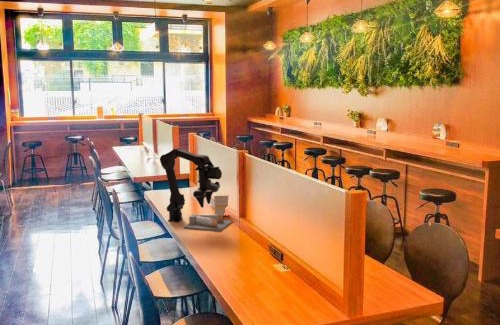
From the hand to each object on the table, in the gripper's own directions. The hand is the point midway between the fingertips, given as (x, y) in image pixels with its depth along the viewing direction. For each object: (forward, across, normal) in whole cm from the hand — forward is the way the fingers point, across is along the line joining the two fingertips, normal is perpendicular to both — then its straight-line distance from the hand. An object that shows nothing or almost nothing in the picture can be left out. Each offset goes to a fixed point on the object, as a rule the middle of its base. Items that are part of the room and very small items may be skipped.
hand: (205, 205), depth 278 cm
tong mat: (+11, 0, -1) cm, 11 cm away
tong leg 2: (+10, +3, -1) cm, 11 cm away
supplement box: (+12, +20, -1) cm, 24 cm away
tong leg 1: (+10, -3, -1) cm, 11 cm away
